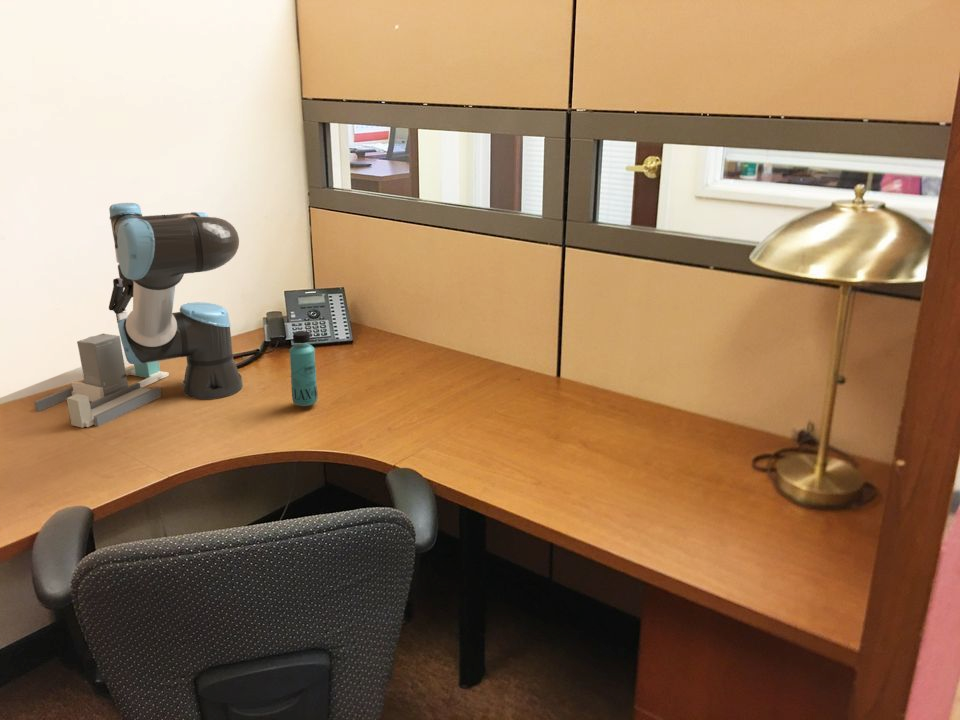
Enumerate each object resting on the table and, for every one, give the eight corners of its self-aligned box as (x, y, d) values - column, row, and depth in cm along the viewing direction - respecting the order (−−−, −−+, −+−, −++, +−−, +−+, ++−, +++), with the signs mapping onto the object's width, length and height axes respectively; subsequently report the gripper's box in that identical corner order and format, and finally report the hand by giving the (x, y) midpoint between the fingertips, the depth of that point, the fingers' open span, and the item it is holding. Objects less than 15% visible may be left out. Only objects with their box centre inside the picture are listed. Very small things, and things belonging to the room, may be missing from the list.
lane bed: (161, 396, 198) (160, 387, 198) (98, 426, 181) (96, 417, 180) (101, 383, 206) (100, 374, 205) (36, 410, 189) (34, 401, 188)
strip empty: (156, 394, 199) (152, 369, 196) (85, 428, 179) (80, 401, 177) (141, 391, 201) (137, 366, 198) (69, 424, 181) (64, 397, 179)
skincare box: (105, 403, 194) (95, 344, 188) (84, 398, 196) (74, 340, 191) (131, 391, 201) (122, 335, 196) (111, 386, 204) (102, 331, 198)
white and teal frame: (168, 375, 211) (163, 338, 207) (104, 404, 192) (97, 364, 188) (138, 369, 215) (132, 332, 211) (72, 396, 196) (64, 357, 192)
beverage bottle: (287, 408, 193) (281, 334, 186) (302, 399, 199) (297, 327, 191) (309, 413, 190) (304, 338, 183) (323, 403, 196) (319, 330, 189)
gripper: (179, 264, 199) (189, 340, 206) (109, 255, 208) (121, 329, 215) (158, 270, 193) (168, 349, 200) (86, 261, 202) (99, 336, 209)
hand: (144, 338), depth 208 cm, fingers open, 13 cm apart
